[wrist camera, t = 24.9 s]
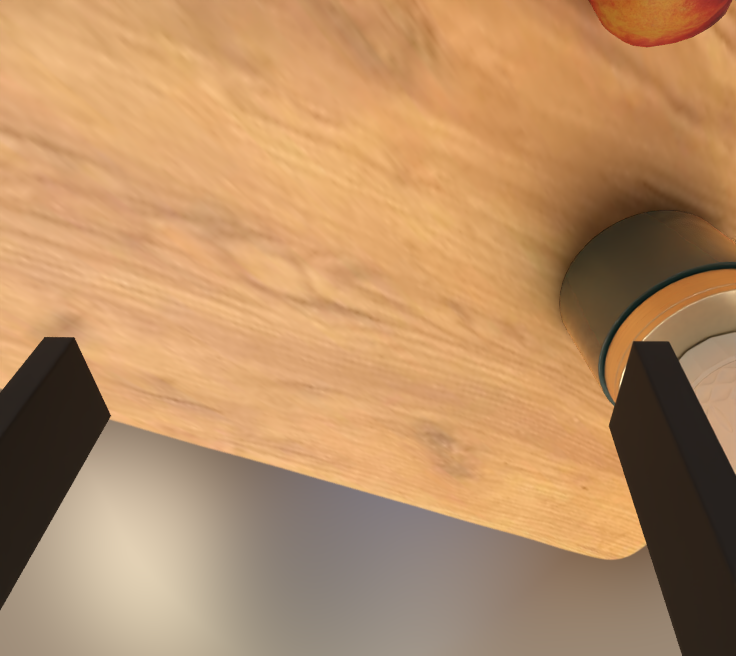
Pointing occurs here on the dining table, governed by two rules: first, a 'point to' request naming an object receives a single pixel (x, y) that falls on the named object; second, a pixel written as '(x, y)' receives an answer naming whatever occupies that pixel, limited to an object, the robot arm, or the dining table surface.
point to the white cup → (716, 386)
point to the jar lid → (676, 319)
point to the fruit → (658, 19)
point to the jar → (634, 274)
